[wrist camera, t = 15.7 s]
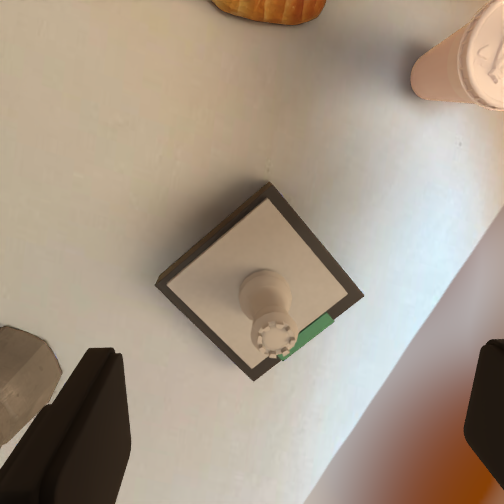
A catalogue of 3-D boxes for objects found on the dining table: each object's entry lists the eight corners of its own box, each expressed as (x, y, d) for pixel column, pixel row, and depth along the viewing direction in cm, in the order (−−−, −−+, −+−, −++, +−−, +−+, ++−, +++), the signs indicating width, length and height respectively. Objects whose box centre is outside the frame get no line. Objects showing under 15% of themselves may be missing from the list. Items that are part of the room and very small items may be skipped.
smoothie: (485, 73, 31) (680, 26, 18) (427, 134, 32) (570, 132, 19) (437, 12, 30) (610, -88, 16) (378, 79, 31) (495, 35, 17)
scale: (356, 285, 36) (367, 298, 33) (251, 367, 38) (254, 386, 35) (269, 181, 33) (273, 185, 30) (159, 275, 34) (153, 288, 32)
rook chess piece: (230, 307, 33) (232, 360, 25) (249, 261, 31) (257, 301, 24) (278, 323, 33) (294, 379, 26) (298, 278, 32) (321, 322, 25)
